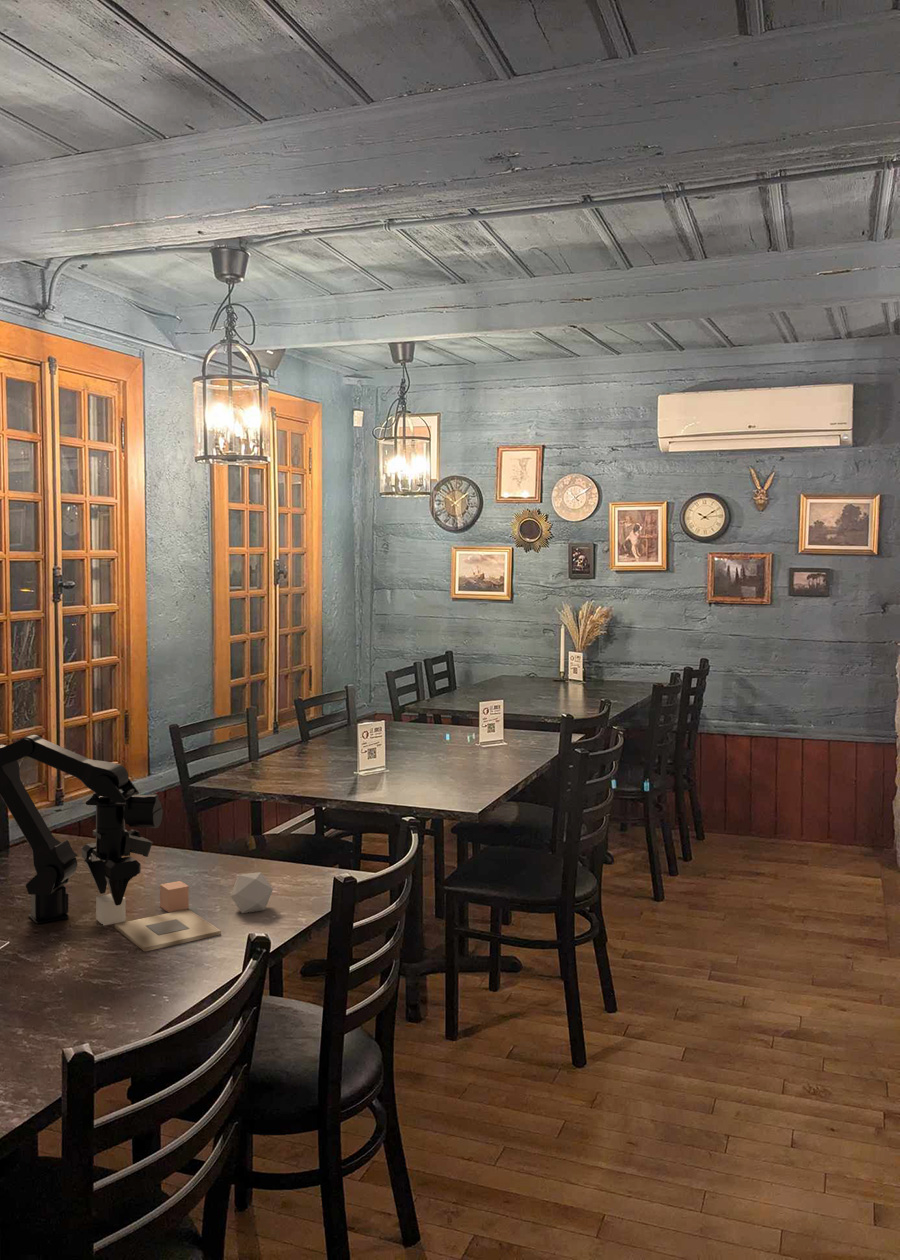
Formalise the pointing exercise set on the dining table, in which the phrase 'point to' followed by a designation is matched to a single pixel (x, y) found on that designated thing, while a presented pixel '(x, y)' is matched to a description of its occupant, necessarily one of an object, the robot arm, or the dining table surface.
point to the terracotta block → (174, 896)
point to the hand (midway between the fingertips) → (110, 899)
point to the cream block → (110, 910)
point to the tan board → (167, 930)
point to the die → (251, 892)
